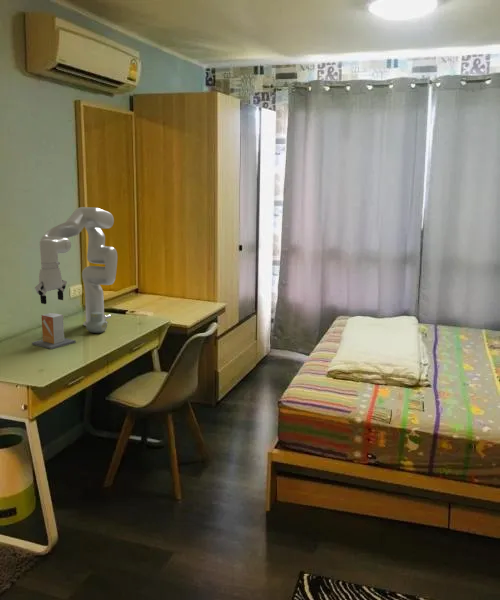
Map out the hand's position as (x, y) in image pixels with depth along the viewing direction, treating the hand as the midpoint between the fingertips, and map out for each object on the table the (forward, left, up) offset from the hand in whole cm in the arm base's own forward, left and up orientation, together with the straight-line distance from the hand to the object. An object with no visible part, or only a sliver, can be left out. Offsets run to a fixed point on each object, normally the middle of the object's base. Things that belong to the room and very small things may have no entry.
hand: (52, 301), depth 279 cm
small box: (+1, 0, -19) cm, 19 cm away
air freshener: (-27, 0, -21) cm, 34 cm away
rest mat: (0, 0, -20) cm, 20 cm away
